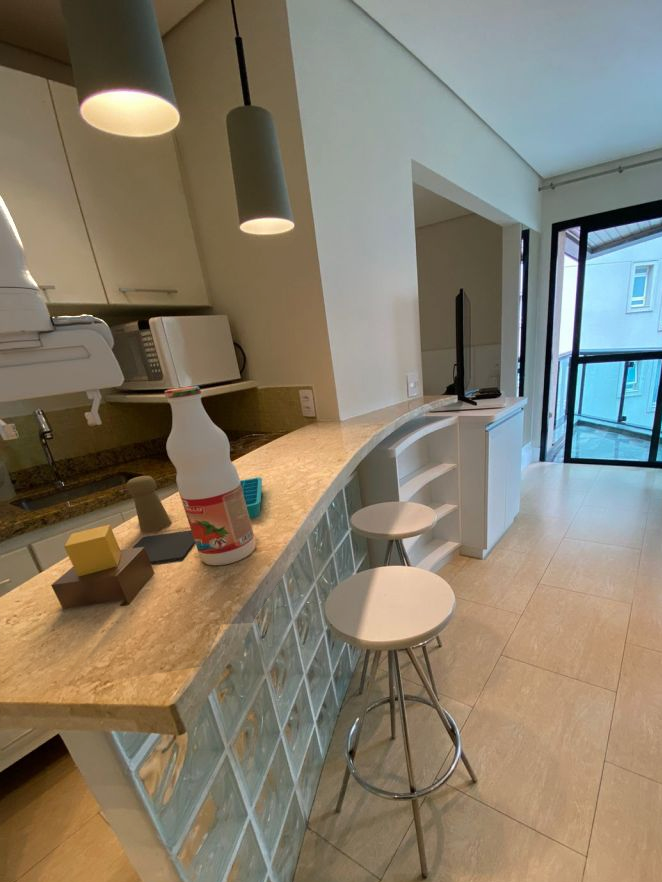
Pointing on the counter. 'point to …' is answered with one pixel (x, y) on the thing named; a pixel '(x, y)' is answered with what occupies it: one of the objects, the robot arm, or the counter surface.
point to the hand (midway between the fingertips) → (55, 431)
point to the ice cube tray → (252, 495)
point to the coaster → (167, 546)
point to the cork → (148, 504)
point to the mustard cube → (93, 550)
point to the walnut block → (106, 582)
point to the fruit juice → (207, 481)
